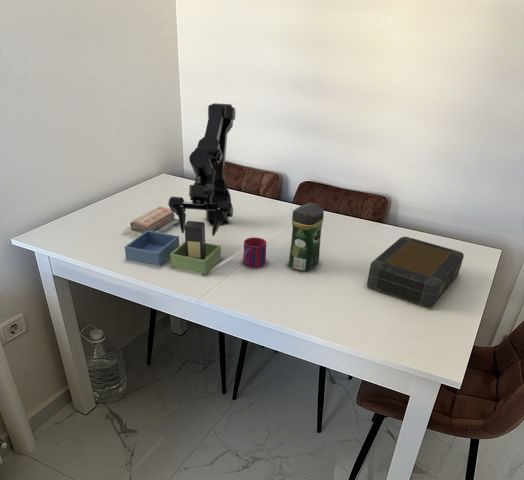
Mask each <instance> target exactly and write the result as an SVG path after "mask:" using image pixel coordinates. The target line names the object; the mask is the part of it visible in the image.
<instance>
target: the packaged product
mask: <svg viewBox="0 0 524 480" xmlns="http://www.w3.org/2000/svg"><path fill="white" fill-rule="evenodd" d="M175 215H176V214H175V213H174V212H172V210H171V209H170V208H168V207H163V206H159V207H157V208H155V209H152V210H150V211H149V212H146V213H144V214H142V215H141V216H139V217H136V218H135V219H133V220H131V221H130V226H128V227H126V228H124V229H123V233H124V234H127V235H130V236H134V237H136V238H137V237H139V236H140V235H141V234H143V233H144V232H145V231H147V230H148V231H153V232H158V233H163V232H164V231H166V230H168V229H169V228H170V227H173V226H174V225H176V224H178V223H180V221H179V218H175Z"/></svg>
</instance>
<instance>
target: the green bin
mask: <svg viewBox="0 0 524 480" xmlns="http://www.w3.org/2000/svg"><path fill="white" fill-rule="evenodd" d="M221 247H222V246H221V245H219V244H213V243H209V242H205V248H206V259H205V260H201V259H196V258H191V257H186V243H185V241H183V243H181V244H179V247H178V248H177V249H176V250H174V251H173V252H172V253H171V254H170V257H169V258H170V268H175V269H180V270H184V271H185V270H186V271H189V272H194V273H200V274H201V276H207V275H208V274H209V273H210V272H211V271H212V270H213V268H214V267H215V265H216V264H217V263H218V262H219V260H221V258H222V255H221V253H222V252H221V251H222V248H221Z"/></svg>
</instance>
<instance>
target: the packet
mask: <svg viewBox="0 0 524 480" xmlns="http://www.w3.org/2000/svg"><path fill="white" fill-rule="evenodd" d="M184 227H185V230H184V240H185V241H184V242H185V243H186V257H191V258H196V259H201V260H205V259H206V248H205V243H206V223H205V221H194V220H187V221H186V222H185V226H184Z"/></svg>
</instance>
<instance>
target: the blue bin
mask: <svg viewBox="0 0 524 480" xmlns="http://www.w3.org/2000/svg"><path fill="white" fill-rule="evenodd" d="M179 246H180V236H178V235H174V234H169V233H163V232H160V233H158V232H153V231H148V230H147V231H145V232H144V233H143V234H141V235H140V236H139V237H137V236H136V238H135V239H133V240H132V241H130V242H129V243H128V244H126V245H125V246H124V254H125V259H126V260H127V261H132V262H137V263H143V264H148V265H152V266H156V267H161V265H163V264H164V263H165V262H166V261H167V260H168V259H169V258H170V254H171V253H172V252H173V251H174V250H176V249H177V248H178V247H179Z"/></svg>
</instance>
